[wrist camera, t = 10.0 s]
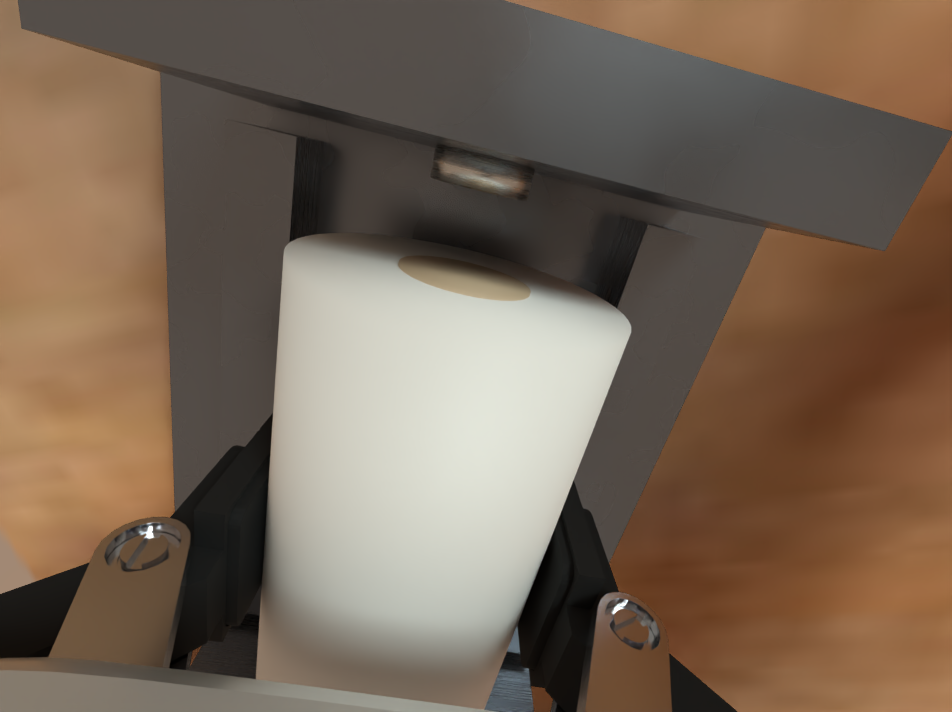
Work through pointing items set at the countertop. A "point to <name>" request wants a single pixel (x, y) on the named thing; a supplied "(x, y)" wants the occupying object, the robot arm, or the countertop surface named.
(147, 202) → the countertop surface
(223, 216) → the roll holder
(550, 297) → the kitchen roll
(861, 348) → the countertop surface
